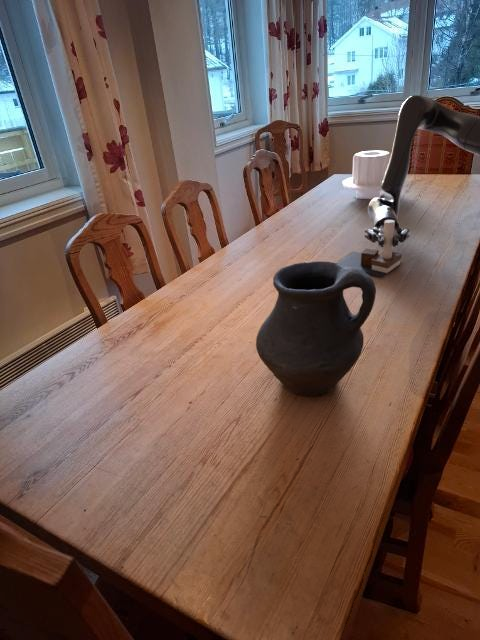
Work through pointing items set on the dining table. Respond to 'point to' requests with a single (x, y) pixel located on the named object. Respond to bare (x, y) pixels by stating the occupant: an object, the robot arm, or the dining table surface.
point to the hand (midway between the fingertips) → (388, 243)
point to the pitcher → (314, 326)
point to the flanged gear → (368, 174)
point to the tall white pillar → (387, 251)
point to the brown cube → (368, 256)
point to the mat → (358, 264)
